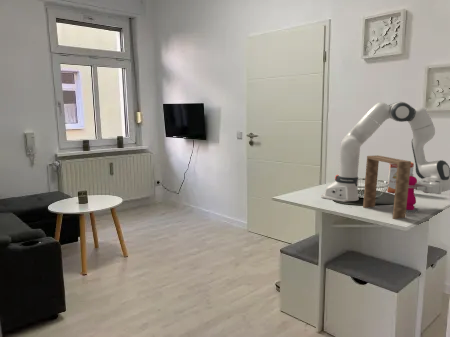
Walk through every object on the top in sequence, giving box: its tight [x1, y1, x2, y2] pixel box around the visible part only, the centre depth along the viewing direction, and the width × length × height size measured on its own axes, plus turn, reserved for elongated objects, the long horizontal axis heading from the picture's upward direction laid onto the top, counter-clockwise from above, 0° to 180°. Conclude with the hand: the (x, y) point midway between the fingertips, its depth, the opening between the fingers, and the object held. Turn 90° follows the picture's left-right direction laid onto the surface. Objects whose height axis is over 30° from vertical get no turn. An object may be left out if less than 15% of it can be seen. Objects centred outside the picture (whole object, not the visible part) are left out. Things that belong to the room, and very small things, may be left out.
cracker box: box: [386, 161, 415, 194], centre depth 247 cm, size 14×6×21 cm, turn 73°
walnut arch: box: [362, 155, 412, 220], centre depth 199 cm, size 8×23×30 cm, turn 20°
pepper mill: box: [406, 173, 418, 210], centre depth 205 cm, size 7×7×20 cm
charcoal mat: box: [406, 207, 420, 214], centre depth 207 cm, size 11×11×1 cm
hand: (409, 186), depth 205 cm, fingers open, 8 cm apart
